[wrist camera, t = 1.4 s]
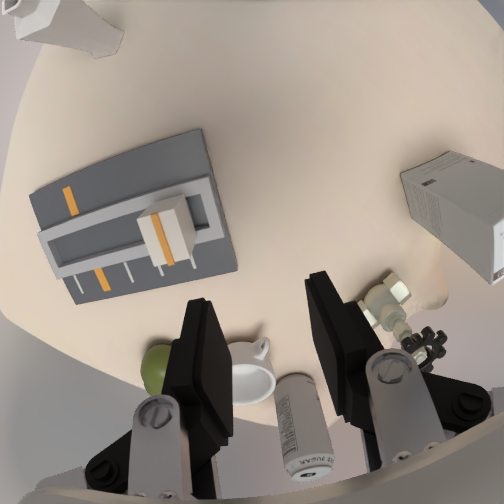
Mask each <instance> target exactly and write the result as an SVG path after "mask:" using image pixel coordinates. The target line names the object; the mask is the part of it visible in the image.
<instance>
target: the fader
mask: <svg viewBox="0 0 504 504" xmlns="http://www.w3.org/2000/svg"><path fill="white" fill-rule="evenodd" d="M137 222H138V225H139V228H140V230H141V233H142V236H143V239H144V241H145V244H146V247H147V249H148V252H149V255H150V257H151V260H152V262H153V265H154V267H156V266H160V265H164V264H168V266H171V265H174V264H175V262H177V261H181V260H186V259H190V258H191V254H192V251H193V248H194V244H195V241H196V238H197V235H196V231H195V228H194V225H195V222H194V219H193V215H192V212H191V209H190V205H189V202H188V199H187V200H186V198H185V195H184V194H182V195H178V196H174V197H171V198H167V199H164V200H160V201H157V202H153V203H151V204H150V206H149V207H148V208H147V209H146V210H145V211H144V212H143V213H142V214H141V215H140V216H139V217H138V218H137Z"/></svg>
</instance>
